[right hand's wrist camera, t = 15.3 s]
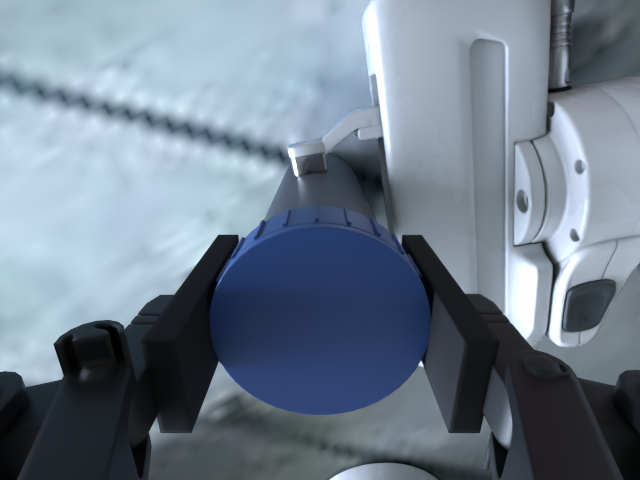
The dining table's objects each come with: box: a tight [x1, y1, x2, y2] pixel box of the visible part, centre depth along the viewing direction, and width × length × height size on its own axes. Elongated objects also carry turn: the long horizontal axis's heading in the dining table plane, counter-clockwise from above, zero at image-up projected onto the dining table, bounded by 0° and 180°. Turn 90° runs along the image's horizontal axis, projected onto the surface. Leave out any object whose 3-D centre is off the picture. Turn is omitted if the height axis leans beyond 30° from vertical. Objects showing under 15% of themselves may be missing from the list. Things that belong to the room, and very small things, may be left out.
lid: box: [209, 204, 431, 415], centre depth 11 cm, size 6×6×2 cm
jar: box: [264, 153, 377, 222], centre depth 18 cm, size 6×6×16 cm
